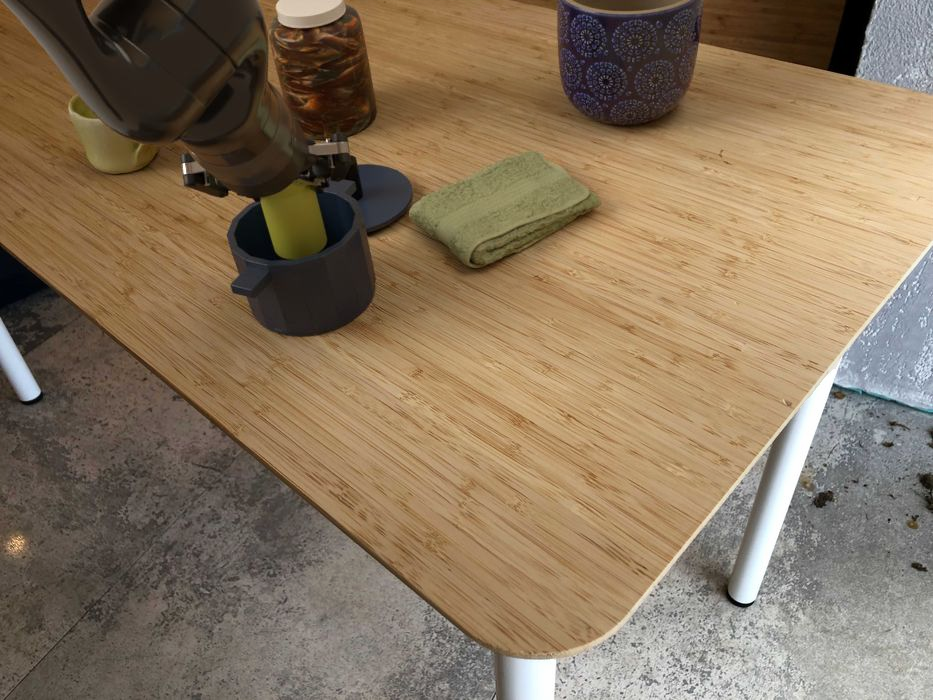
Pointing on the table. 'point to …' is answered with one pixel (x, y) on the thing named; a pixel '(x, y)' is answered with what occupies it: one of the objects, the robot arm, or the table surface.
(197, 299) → the table surface
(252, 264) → the pot
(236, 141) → the robot arm
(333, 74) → the jar
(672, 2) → the planter
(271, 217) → the pear
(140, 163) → the mug
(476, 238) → the washcloth
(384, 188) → the lid
